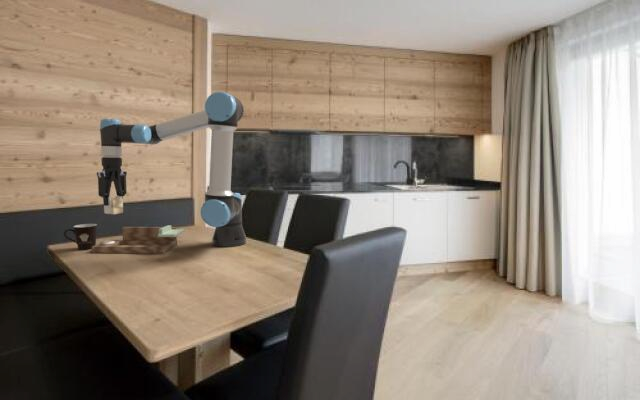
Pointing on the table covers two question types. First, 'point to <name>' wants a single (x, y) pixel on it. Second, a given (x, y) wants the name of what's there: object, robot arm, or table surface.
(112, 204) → the maple block
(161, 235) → the lid
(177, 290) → the table surface
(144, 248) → the puzzle board
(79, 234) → the coffee mug
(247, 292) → the table surface
